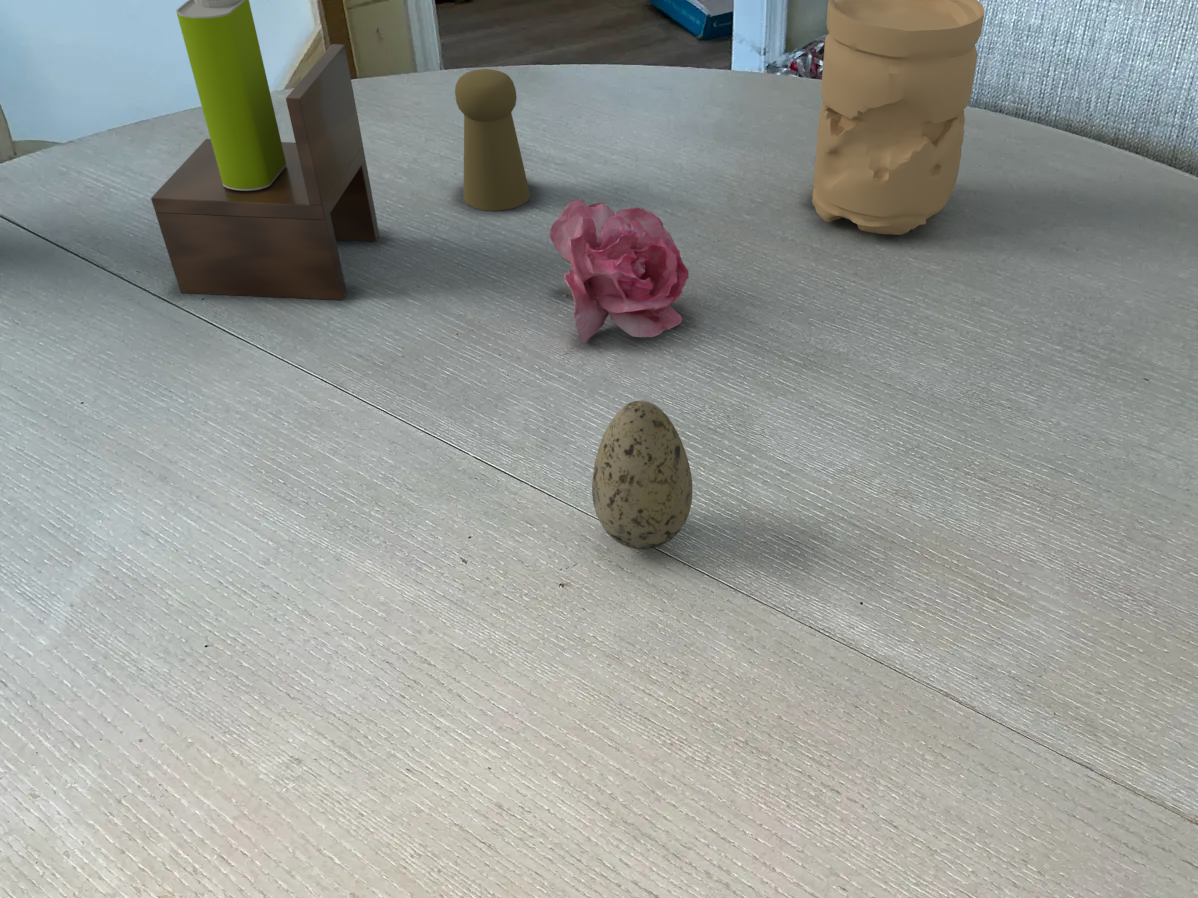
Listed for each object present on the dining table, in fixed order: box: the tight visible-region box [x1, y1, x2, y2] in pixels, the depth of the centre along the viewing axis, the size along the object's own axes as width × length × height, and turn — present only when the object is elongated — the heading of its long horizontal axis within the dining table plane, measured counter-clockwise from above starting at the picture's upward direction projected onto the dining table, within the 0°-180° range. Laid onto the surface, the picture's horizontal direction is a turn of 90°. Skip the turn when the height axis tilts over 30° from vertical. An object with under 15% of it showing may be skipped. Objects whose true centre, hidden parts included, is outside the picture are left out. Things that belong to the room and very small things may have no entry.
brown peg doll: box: [454, 68, 531, 212], centre depth 104 cm, size 6×6×11 cm
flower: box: [549, 197, 690, 344], centre depth 90 cm, size 11×10×10 cm
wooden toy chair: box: [150, 43, 380, 301], centre depth 92 cm, size 13×11×16 cm
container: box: [811, 0, 985, 236], centre depth 101 cm, size 13×13×18 cm
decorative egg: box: [591, 400, 693, 550], centre depth 69 cm, size 6×6×10 cm
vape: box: [175, 0, 286, 191], centre depth 84 cm, size 4×6×20 cm, turn 176°
